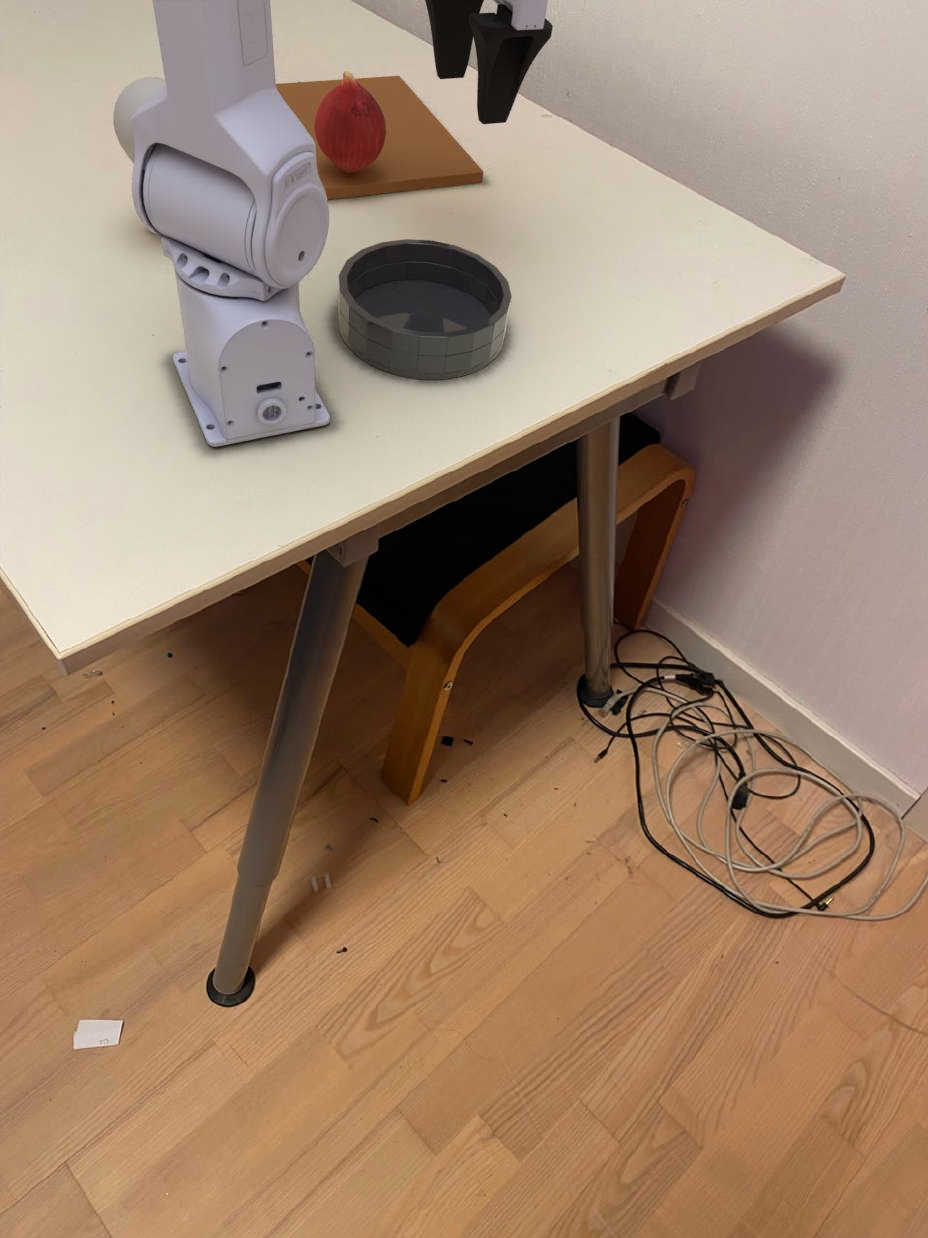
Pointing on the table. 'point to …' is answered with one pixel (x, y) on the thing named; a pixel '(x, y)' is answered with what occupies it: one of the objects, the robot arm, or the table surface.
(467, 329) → the pan
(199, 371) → the robot arm
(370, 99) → the onion
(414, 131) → the mat
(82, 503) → the table surface
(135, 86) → the lightbulb
